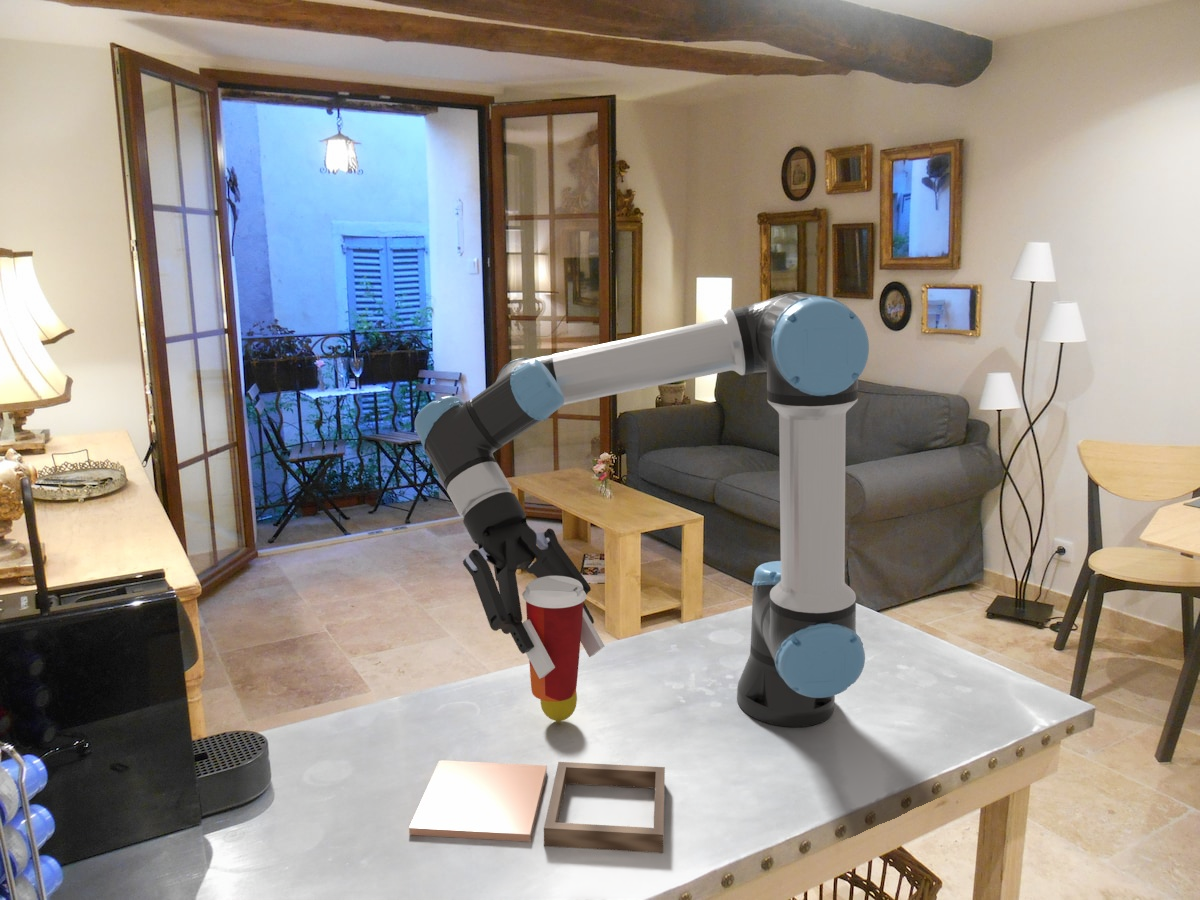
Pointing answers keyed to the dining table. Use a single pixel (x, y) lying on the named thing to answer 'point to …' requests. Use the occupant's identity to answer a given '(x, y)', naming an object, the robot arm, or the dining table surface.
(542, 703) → the lemon
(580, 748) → the dining table surface
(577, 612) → the paper cup
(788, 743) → the dining table surface
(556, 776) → the walnut frame
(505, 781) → the terracotta tile
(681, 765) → the dining table surface
